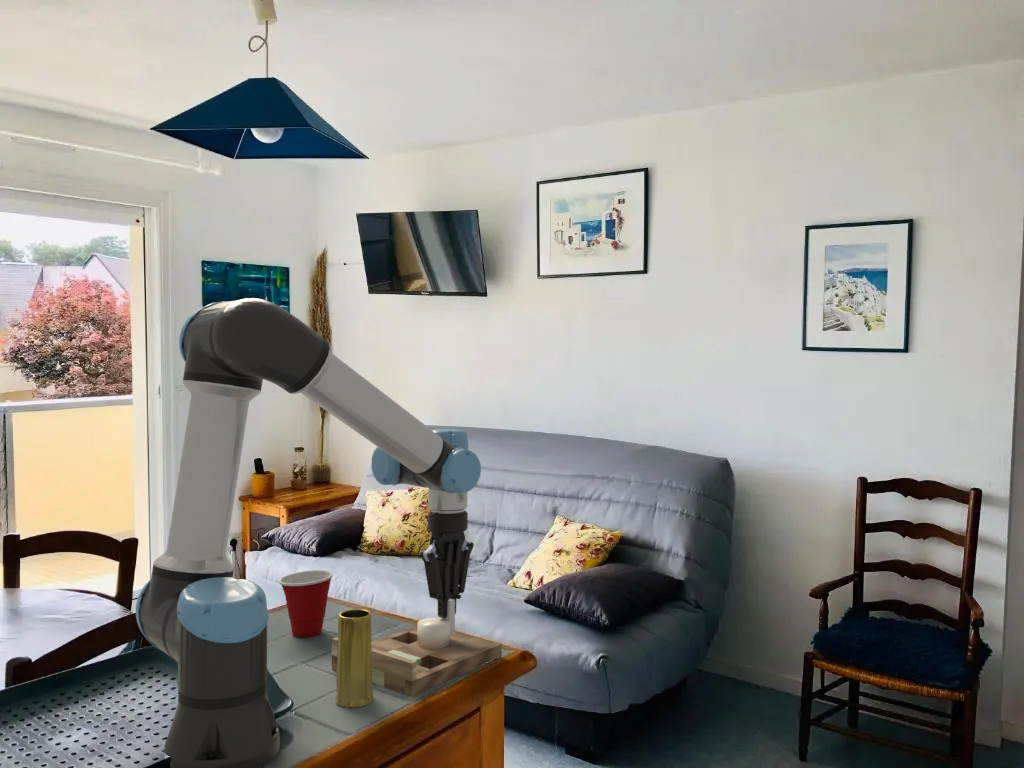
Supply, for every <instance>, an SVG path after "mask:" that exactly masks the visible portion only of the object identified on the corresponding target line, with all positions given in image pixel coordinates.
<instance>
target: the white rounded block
mask: <svg viewBox="0 0 1024 768" xmlns="http://www.w3.org/2000/svg"><path fill="white" fill-rule="evenodd" d="M417 626H418V635H417V644H418V646H419V647H422V648H426V649H439V648H444V647H446V646H448V645H449V641H450V622H449V620H447V619H443V618H439V617H427V618H422V619H420V620H418V621H417Z"/></svg>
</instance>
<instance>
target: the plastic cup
mask: <svg viewBox="0 0 1024 768" xmlns="http://www.w3.org/2000/svg"><path fill="white" fill-rule="evenodd" d="M333 575H334V574H333V572H332V571H330V570H324V569H323V570H322V569H317V570H316V569H314V570H305V571H298V572H294V573H290V574H287V575H284V576H282V577H281V578H279V580H278V583H279V584H280V585H281V587H282V590H283V592H284V596H285V600H286V606H287V613H288V617H289V621H290V626H291V633H292V635H293V636H294V637H296V638H303V639H304V638H312V637H316V636H318V635H321V633H322V630H323V626H324V619H325V617H326V609H327V604H328V603H327V602H328V597H329V591H330V585H331V581H332V578H333Z"/></svg>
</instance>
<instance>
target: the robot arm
mask: <svg viewBox="0 0 1024 768" xmlns="http://www.w3.org/2000/svg"><path fill="white" fill-rule="evenodd" d="M179 333H180V334H179V339H178V344H179V352H180V355H181V357H182V359H183V361H184V362H185V364H184V372H183V376H182V384H183V385H184V386H185V388H186V389H187V391H188V392H189V394H190V400H189V408H188V413H187V420H186V425H185V426H186V427H185V431H184V437H183V439H184V440H183V444H182V445H183V446H182V452H181V456H180V462H179V463H180V465H179V470H178V474H177V475H178V476H177V482H176V488H175V496H174V501H173V508H172V514H171V519H170V520H171V521H170V525H169V526H170V527H169V532H168V539H167V546H166V550H165V552H163V553H162V554H161V555H160V556H158V557H157V558H156V559H155V560H154V561H153V563H152V571H151V576H150V580H148V582H146V583H145V584H144V586H143V587H142V589H141V590H140V592H139V594H138V597H137V600H136V605H135V618H136V623H137V626H138V628H139V630H140V632H141V633H142V635H143V636H144V638H145V639H146V641H148V642H149V643H150V644H151V645H152V646H153V647H154V648H155V649H157V650H159V651H161V652H163V653H165V654H166V655H168V656H169V657H171V658H172V659H173V660H174V661H176V662H177V672H178V673H177V689H178V690H177V691H178V692H177V693H178V694H177V696H178V698H177V699H178V700H177V701H178V702H177V707H176V711H175V713H174V716H173V720H172V723H171V726H170V729H169V732H168V736H167V739H166V740H165V743H164V749H163V753H164V752H165V754H166V755H168V756H170V757H171V762H170V768H262V767H265V765H267V764H268V763H270V762H271V761H273V760H274V759H275V758H276V756H277V755H278V754H279V751H280V730H279V725H278V723H277V720H276V717H275V714H274V711H273V708H272V706H271V703H270V700H269V697H268V692H267V691H268V689H267V688H268V683H267V682H268V680H267V679H268V622H269V609H268V603H267V601H268V600H267V594H266V592H265V590H264V589H263V588H262V586H260V585H258V584H257V583H255V582H253V581H251V580H247V579H245V578H240V579H239V578H238V579H237V578H235V577H234V571H235V565H234V564H233V563H232V562H231V561H230V559H229V558H228V557H227V549H228V542H229V536H230V530H231V523H232V518H233V517H232V516H233V510H234V504H235V497H236V490H237V485H238V484H237V483H238V477H239V471H240V464H241V457H242V452H243V444H244V438H245V432H246V425H247V421H248V413H249V407H250V403H251V401H253V399H255V398H256V397H258V396H259V395H260V394H261V393H262V388H263V380H264V381H267V382H269V383H272V384H274V385H276V386H278V387H280V388H281V389H283V390H284V391H285V392H287V393H288V394H290V395H297V394H302V395H303V396H305V397H306V398H307V399H308V400H310V401H312V402H313V403H315V405H317V406H319V407H320V408H322V409H324V411H326V412H328V414H330V415H332V416H333V417H334V418H336V419H337V420H338V421H341V422H342V423H343V424H345V425H346V426H347V427H349V428H350V429H351V430H352V431H353V430H354V432H356V433H357V434H359V435H360V436H362V437H363V438H365V439H366V440H367V441H369V442H370V443H371V444H373V445H375V446H376V448H375V449H374V450H373V453H372V455H371V472H372V476H373V478H374V479H375V480H376V482H378V483H379V484H380V485H383V486H397V485H408V486H409V485H410V486H415V487H422V488H427V489H428V495H427V496H428V499H427V501H428V502H427V503H428V504H427V505H428V507H427V508H428V509H429V512H428V515H427V517H428V521H427V523H428V524H427V526H428V530H429V531H430V533H431V536H430V539H429V546H428V548H427V549H424V550H421V551H420V553H419V554H420V557H421V559H422V561H423V564H424V565H423V566H424V570H425V578H426V583H427V588H428V594H429V598H431V599H434V600H437V618H443V619H447V620H449V622H450V635H452V634H455V632H456V630H455V629H456V624H455V623H456V613H457V600H460V599H461V598H462V595H461V594H464V592H465V590H466V583H467V577H468V571H469V566H470V565H469V564H470V558H471V557H470V556H471V554H472V551H473V549H474V542H472V541H468V540H467V539H466V534H465V532H467V530H468V518H469V517H468V512H467V511H466V509H468V493H469V492H470V491H471V490H473V489H474V488H475V487H476V486H477V484H478V482H479V481H480V478H481V472H482V465H481V461H480V459H479V457H478V456H477V454H476V453H475V452H474V451H472V450H469V438H468V437H469V436H468V433H467V432H466V431H465V430H464V429H456V428H455V429H453V428H439V429H438V428H437V429H431V428H430V427H428V425H426V424H425V423H423V422H422V421H420V420H419V419H418V418H417V417H416V416H414V415H413V414H412V413H411V412H409V411H408V410H407V409H405V408H403V406H401V405H400V404H399V403H397V402H396V401H395V400H393V399H392V398H391V397H390V396H388V395H387V394H386V393H384V392H383V391H382V390H380V389H379V388H378V387H377V386H375V385H374V384H373V383H371V382H370V381H368V380H367V379H366V378H365V377H363V376H362V375H361V374H360V373H358V372H357V371H356V370H355V369H353V368H352V367H350V366H349V365H348V364H347V363H345V362H344V361H343V360H341V359H340V358H339V357H337V356H336V355H335V354H333V352H332V346H331V342H329V341H328V340H327V339H325V338H324V337H323V336H321V335H320V334H319V333H318V332H316V331H315V330H313V329H312V328H311V327H309V326H308V325H307V324H305V322H303V321H301V319H300V318H298V317H296V316H295V315H293V314H291V312H289V311H288V310H286V309H284V308H283V307H281V306H279V305H278V304H275V303H274V302H272V301H271V302H270V301H268V300H265V299H263V298H262V299H261V298H255V297H251V298H250V297H249V298H241V299H237V300H231V301H217V302H212V303H209V304H207V305H205V306H203V307H201V308H199V309H197V310H196V311H195V312H193V313H192V314H191V315H190V316H189V317H188V318H187V319H186V321H184V324H183V325H182V328H181V330H180V332H179Z"/></svg>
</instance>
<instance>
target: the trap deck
mask: <svg viewBox="0 0 1024 768" xmlns="http://www.w3.org/2000/svg"><path fill="white" fill-rule="evenodd" d="M417 635H418V625H416V626H413V627H410V628H407V629H405V630H401V631H398V632H395V633H393V634H390V635H388V636H384V637H380V638H378V639H376V640H371V649H372V684H374V685H375V686H376V685H377V686H379V687H383V688H386V689H389V690H392V691H395V692H397V693H400V694H403V695H406V696H409V697H414V696H416V695H418V694H420V693H423V692H426V691H428V690H429V689H432V688H434V687H436V686H439V685H441V684H444V683H447V682H448V681H450V680H452V679H456V678H457V677H460V676H462V675H463V673H464V674H466V673H468V671H469V672H470V670H471V671H473V670H475V668H476V669H478V668H480V667H481V665H482V666H484V665H483V664H484V663H486V662H489V661H491V660H493V659H496V658H498V657H501V656H503V655H502V652H503V649H502V648H503V647H502V646H503V644H502V643H501V642H496V641H492V640H490V639H489V640H488V639H485V638H480V637H477V636H473V635H470V634H465V633H462V632H458V631H455V634H452V635H450V641H449V645H448V646H446V647H444V648H439V649H426V648H422V647H419V646H418V644H417ZM337 656H338V636H337V637H333V638H331V670H333V671H336V672H337ZM501 658H502V657H501ZM498 659H499V658H498ZM496 660H497V659H496ZM489 663H490V662H489ZM479 666H480V667H479ZM477 667H478V668H477Z"/></svg>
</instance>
